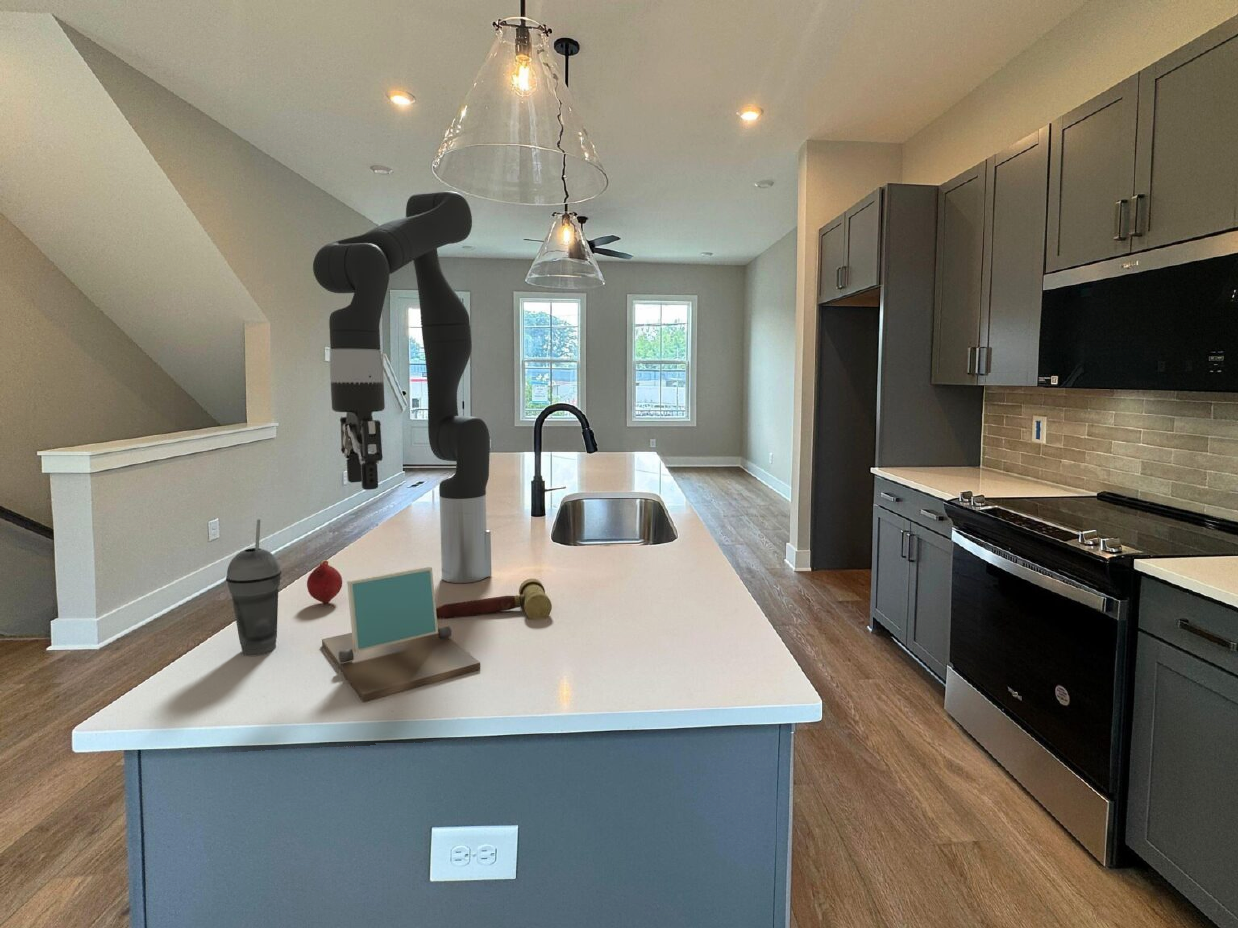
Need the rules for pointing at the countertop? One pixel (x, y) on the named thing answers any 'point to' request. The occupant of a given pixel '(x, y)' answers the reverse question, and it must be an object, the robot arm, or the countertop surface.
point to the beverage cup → (255, 597)
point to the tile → (392, 608)
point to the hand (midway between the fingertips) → (362, 485)
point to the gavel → (504, 603)
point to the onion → (324, 582)
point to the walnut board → (399, 663)
